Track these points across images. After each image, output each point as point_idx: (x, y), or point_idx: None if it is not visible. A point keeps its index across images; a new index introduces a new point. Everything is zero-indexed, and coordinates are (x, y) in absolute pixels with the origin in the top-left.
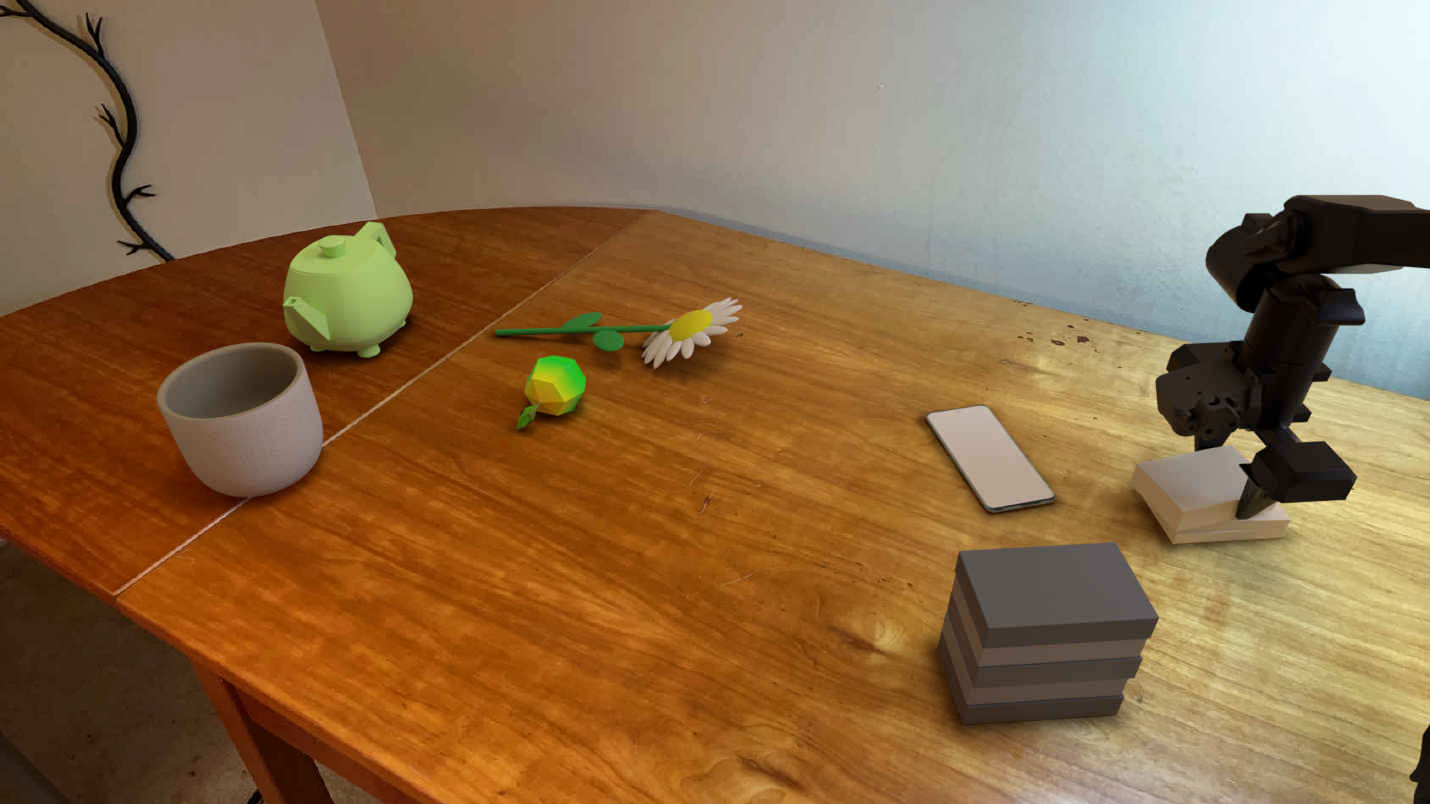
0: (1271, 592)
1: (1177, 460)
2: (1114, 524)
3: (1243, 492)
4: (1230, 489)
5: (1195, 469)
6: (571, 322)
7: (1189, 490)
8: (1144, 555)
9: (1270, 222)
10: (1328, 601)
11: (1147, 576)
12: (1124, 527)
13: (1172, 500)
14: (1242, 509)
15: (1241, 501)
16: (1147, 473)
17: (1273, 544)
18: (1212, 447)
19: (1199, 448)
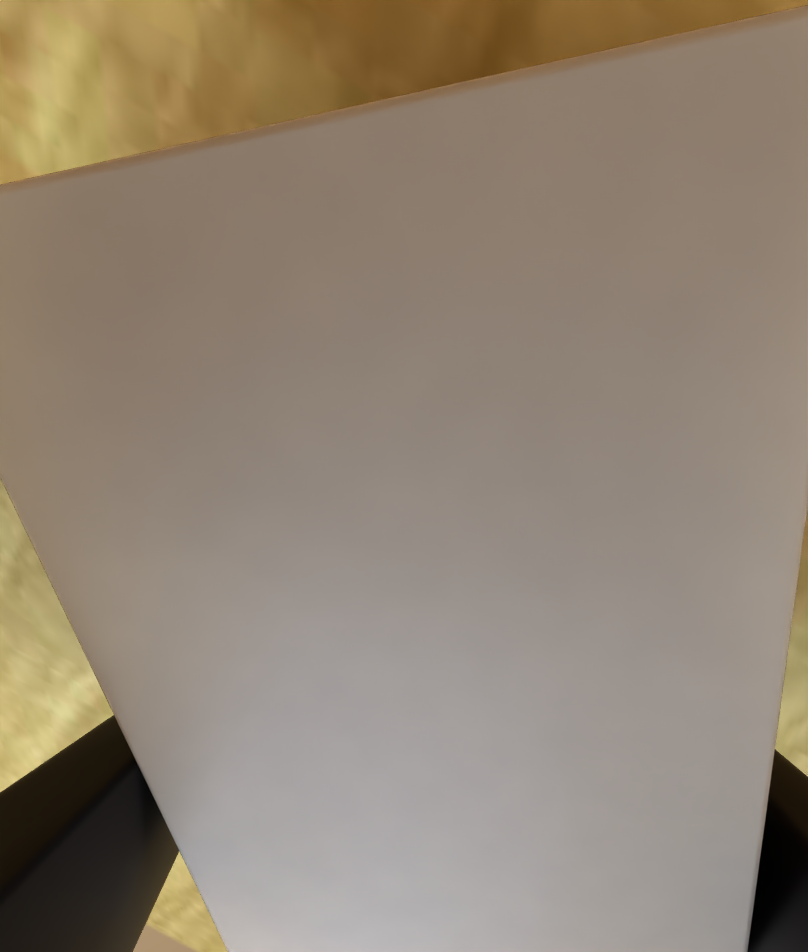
0: (34, 568)
1: (708, 592)
2: (471, 14)
3: (16, 854)
4: (245, 771)
5: (527, 672)
6: None
7: (235, 462)
8: (202, 100)
9: None
10: (25, 703)
11: (41, 31)
12: (435, 80)
13: (65, 178)
14: (108, 723)
15: (102, 764)
16: (590, 59)
17: None
18: (762, 912)
19: (796, 836)
